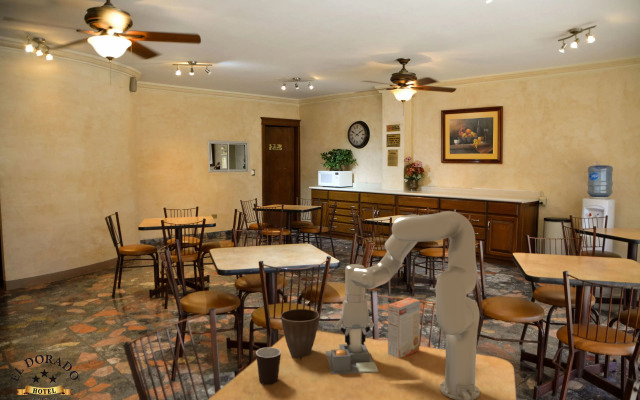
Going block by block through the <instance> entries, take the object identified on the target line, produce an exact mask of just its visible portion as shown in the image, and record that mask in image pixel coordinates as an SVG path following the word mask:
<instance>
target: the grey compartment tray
mask: <svg viewBox="0 0 640 400" xmlns="http://www.w3.org/2000/svg"><path fill="white" fill-rule="evenodd" d="M338 347H339V349H331V350H327V351H326V350H325V356H326V360H327V363H328V367H329V371H330V374H331V375H349V374H355V375H356V374H373V373H374V374H375V373H377V374H378V373H379V371H378V372H361V373H359V371H358V369H357V366H356V363H364V362H374V360H373V358H372V356H371V354H370V352H369V350H368V348H367V345H366V344H365V343H364V345H362V353H349V346H347V343H345V344H344V343H343V344H339V346H338ZM337 350H344V351H346V355H339V356H336V351H337Z"/></svg>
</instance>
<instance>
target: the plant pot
mask: <svg viewBox="0 0 640 400" xmlns="http://www.w3.org/2000/svg"><path fill="white" fill-rule="evenodd" d="M280 319H281V320H280V321H281V325H282V331H283V335H284V339H285V343H286V346H287V348H288V350H289V354H290V356H291V357H292V358H296V359H302V357H307V356H309V355H310V354H311V351H312V350H313V347H314V344H315V339H316V335H317V331H318V326H319V319H320V313H319V312H317V311H315V310H313V309H307V308H298V309H296V308H295V309H288V310H285V311H284V312H282V313H281V314H280Z"/></svg>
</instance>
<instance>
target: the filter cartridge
mask: <svg viewBox="0 0 640 400" xmlns="http://www.w3.org/2000/svg"><path fill="white" fill-rule="evenodd" d="M349 353H362V327H360V325H352V327H351V328H350V329H349Z"/></svg>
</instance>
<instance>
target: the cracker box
mask: <svg viewBox="0 0 640 400" xmlns="http://www.w3.org/2000/svg"><path fill="white" fill-rule="evenodd" d="M387 307H388V308H387V355H389V356H392V357H394V358H397V359H400V358H403V357H408V356H410V355H412V354H414V353H416V352H418V351H420V328H421V327H420V322H421V321H420V317H421V315H420V314H421V309H420V308H421V301H420V299H416V298H412V297H406V298H403V299H401V300H398V301H395V302H393V303H389V304H387Z"/></svg>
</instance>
